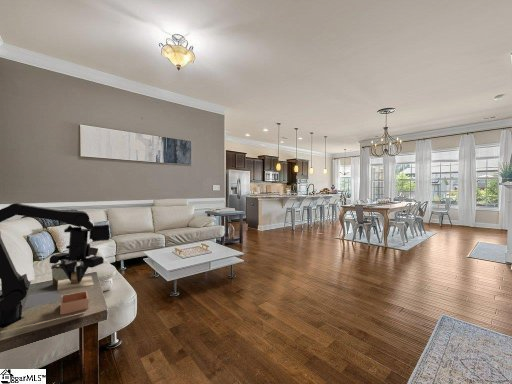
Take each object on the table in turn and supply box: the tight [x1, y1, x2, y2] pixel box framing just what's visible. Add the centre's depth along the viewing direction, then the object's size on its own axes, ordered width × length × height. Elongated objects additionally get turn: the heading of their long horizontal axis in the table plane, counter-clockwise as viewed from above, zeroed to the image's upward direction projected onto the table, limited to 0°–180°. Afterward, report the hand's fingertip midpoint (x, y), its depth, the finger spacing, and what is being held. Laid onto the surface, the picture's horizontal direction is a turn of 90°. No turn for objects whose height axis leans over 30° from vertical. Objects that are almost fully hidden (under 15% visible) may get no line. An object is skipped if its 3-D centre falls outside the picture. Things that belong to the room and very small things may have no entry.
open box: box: [59, 290, 90, 315], centre depth 91 cm, size 8×8×4 cm
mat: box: [23, 289, 68, 309], centre depth 97 cm, size 13×13×1 cm
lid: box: [56, 272, 95, 294], centre depth 91 cm, size 11×11×5 cm
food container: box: [50, 262, 79, 286], centre depth 111 cm, size 12×6×10 cm, turn 84°
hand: (75, 281), depth 91 cm, fingers closed on lid, 3 cm apart
